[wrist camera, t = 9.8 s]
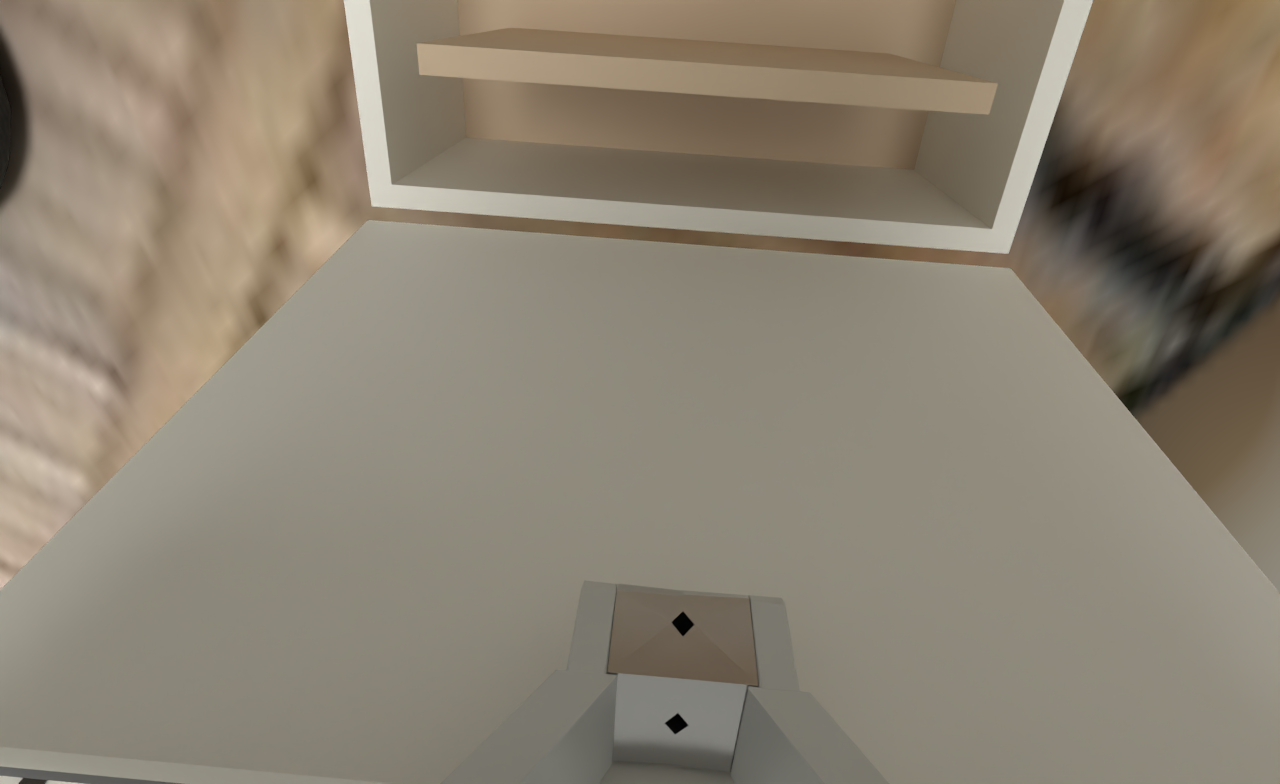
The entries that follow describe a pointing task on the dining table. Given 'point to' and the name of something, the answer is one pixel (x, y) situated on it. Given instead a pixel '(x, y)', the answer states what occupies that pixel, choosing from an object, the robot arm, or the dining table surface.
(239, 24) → the dining table surface
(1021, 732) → the lid flap
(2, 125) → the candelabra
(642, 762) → the robot arm
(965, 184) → the carton
